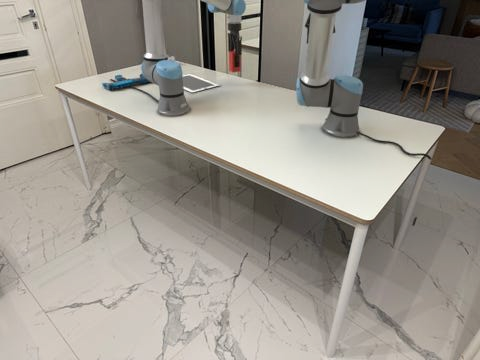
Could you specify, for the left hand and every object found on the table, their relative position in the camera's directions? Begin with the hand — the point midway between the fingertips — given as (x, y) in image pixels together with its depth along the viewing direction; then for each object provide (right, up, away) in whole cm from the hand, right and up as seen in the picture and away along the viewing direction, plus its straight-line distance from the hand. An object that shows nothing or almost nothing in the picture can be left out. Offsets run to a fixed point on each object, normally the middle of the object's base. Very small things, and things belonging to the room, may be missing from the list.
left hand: (234, 65), depth 198 cm
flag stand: (-50, +15, +44) cm, 68 cm away
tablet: (-27, -8, +9) cm, 29 cm away
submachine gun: (-64, -6, +11) cm, 66 cm away
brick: (0, -2, +2) cm, 3 cm away
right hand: (+41, -1, -31) cm, 52 cm away
